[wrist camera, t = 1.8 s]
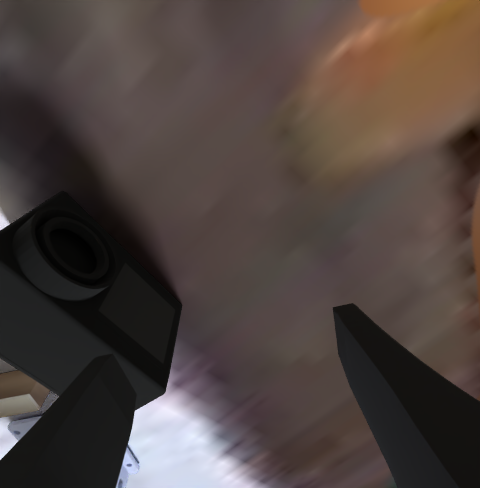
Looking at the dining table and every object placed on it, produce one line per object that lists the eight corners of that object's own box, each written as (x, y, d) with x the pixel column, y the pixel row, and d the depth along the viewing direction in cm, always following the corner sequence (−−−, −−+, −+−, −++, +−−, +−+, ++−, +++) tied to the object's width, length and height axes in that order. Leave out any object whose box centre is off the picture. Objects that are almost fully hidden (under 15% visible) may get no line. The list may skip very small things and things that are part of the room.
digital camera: (198, 297, 21) (187, 385, 15) (139, 335, 23) (107, 430, 16) (78, 176, 17) (-5, 227, 11) (15, 230, 19) (-92, 303, 12)
